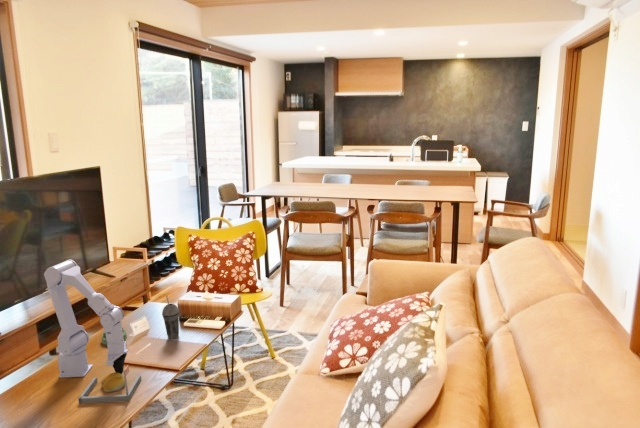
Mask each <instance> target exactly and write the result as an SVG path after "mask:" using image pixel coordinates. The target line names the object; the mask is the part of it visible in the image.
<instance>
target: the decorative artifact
mask: <svg viewBox="0 0 640 428" xmlns="http://www.w3.org/2000/svg"><path fill="white" fill-rule="evenodd" d="M122 331H123V338H124V341H126V340H127V336H128V335H127V331H126V330H125V329H124V327H122ZM101 344H103V345H104V346H107V339H106V332H105V330H104V331H103V332H102V335H101Z"/></svg>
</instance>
